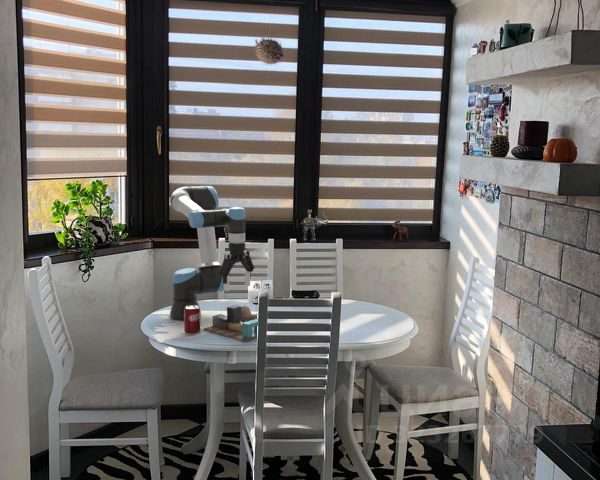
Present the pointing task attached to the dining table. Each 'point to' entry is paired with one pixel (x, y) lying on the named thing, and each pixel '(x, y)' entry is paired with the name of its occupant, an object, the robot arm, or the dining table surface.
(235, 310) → the square head mallet
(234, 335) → the base board
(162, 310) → the dining table surface
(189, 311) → the soda can
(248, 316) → the pipe
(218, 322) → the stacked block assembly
